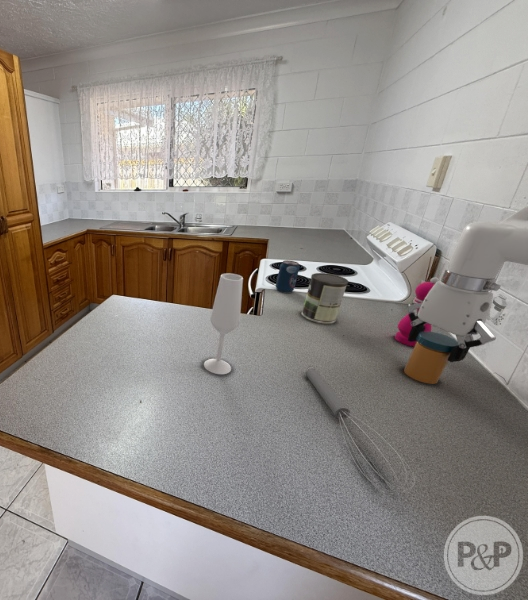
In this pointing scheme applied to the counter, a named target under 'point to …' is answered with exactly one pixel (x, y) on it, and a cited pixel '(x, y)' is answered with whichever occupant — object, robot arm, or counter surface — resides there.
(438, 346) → the lid
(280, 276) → the soda can
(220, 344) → the champagne flute
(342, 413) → the kitchen whisk
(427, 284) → the pepper mill
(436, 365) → the jar
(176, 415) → the counter surface
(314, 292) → the coffee can
